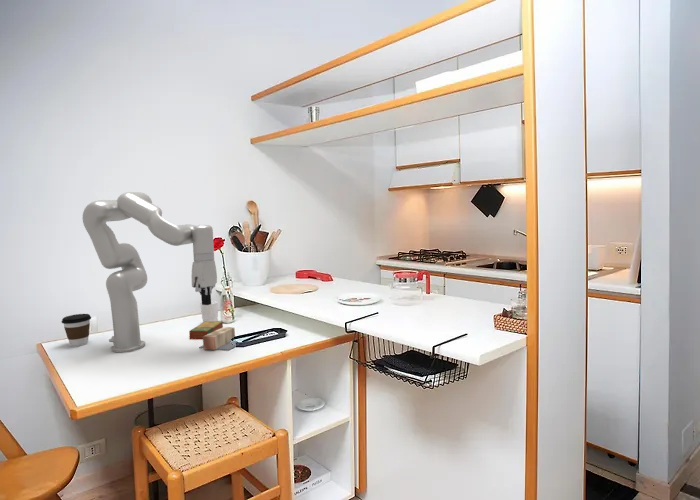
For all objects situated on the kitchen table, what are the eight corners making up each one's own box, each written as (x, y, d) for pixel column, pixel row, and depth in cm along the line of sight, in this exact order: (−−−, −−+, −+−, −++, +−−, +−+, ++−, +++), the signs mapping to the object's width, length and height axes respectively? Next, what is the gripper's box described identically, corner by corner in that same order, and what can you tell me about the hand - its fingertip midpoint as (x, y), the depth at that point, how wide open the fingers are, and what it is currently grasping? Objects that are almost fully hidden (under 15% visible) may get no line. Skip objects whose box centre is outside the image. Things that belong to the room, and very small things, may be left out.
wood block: (202, 336, 184) (224, 326, 197) (203, 349, 184) (225, 338, 197) (213, 337, 182) (234, 327, 195) (214, 349, 182) (235, 339, 195)
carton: (223, 329, 214) (222, 320, 214) (208, 340, 199) (207, 330, 198) (206, 329, 216) (205, 320, 215) (189, 340, 200) (188, 330, 199)
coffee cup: (80, 348, 194) (77, 320, 192) (57, 348, 196) (54, 319, 195) (99, 340, 204) (96, 313, 203) (77, 340, 206) (75, 313, 205)
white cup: (201, 322, 228) (199, 302, 227) (218, 320, 231) (216, 300, 229) (202, 326, 220) (200, 305, 219) (219, 324, 223) (218, 303, 222)
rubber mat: (198, 348, 187) (198, 347, 187) (223, 336, 202) (223, 335, 202) (228, 350, 182) (228, 349, 182) (251, 338, 197) (251, 337, 197)
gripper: (208, 254, 189) (210, 299, 191) (182, 259, 175) (185, 308, 177) (223, 255, 186) (226, 301, 189) (199, 260, 173) (202, 309, 175)
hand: (206, 304), depth 183 cm, fingers closed
